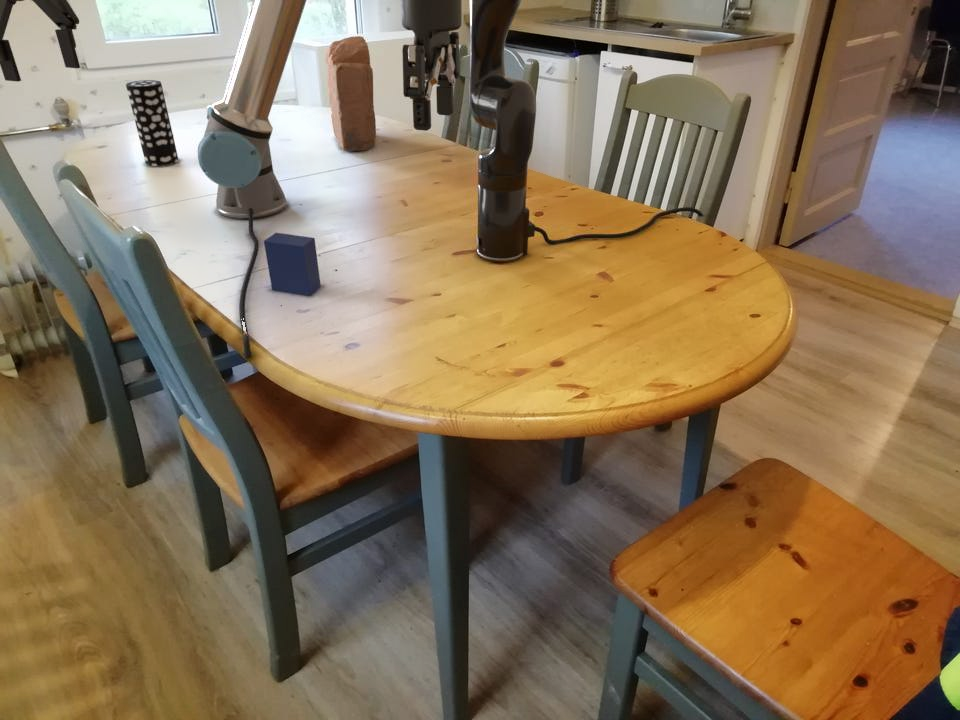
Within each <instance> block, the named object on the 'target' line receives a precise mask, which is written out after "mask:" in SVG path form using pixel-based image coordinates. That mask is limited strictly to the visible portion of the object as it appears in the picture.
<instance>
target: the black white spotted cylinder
mask: <svg viewBox="0 0 960 720" xmlns="http://www.w3.org/2000/svg"><path fill="white" fill-rule="evenodd" d="M125 87H126V91H127V95H128V99H129V103H130V107H131V110H132V115H133V118H134V122H135V123H134V124H135V127H136V130H137V134H138V139H139V143H140V146H141V150H142V155H143V158H144V163H145V164H146V165H147V166H151V167H164V166H170V165H174V164H176V163H178V162H179V155H178V150H177V146H176V142H175V137H174V133H173V128H172V125H171V121H170V116H169V111H168V107H167V103H166V98H165V93H164V89H163V84H162V81H161V80H155V79H154V80H153V79H151V80H150V79H145V80H144V79H141V80H134V81H130V82H129V81H128V82H127V83H126V84H125Z"/></svg>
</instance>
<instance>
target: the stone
mask: <svg viewBox="0 0 960 720" xmlns="http://www.w3.org/2000/svg"><path fill="white" fill-rule="evenodd" d="M325 61H326V65H327V89H328V90H327V91H328V98H329V105H330V110H331V115H330V118H331V124H332V130H333V134H334V137H335V139H336V141H337V143H338V146H339V147H340V149H342V150H343V152H357V151H366V150H368V149H370V148H372V147H374V146H376V144H375V143H376V137H377V124H376V114H375V106H374V70H373V68H372V66H371V57H370V50H369V45H368V43H367V42H366V39H365V38H364V36H361V35H357V36H349V37H345V38H343V39H339V40H335V41H332V42H331V43H330V45H329V47H328V48H327V50H326V54H325Z"/></svg>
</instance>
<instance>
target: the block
mask: <svg viewBox="0 0 960 720" xmlns="http://www.w3.org/2000/svg"><path fill="white" fill-rule="evenodd" d="M263 244H264V245H263V246H264V250H265V251H264V252H265V257H266V262H267V268H268V274H269V279H270V286H271V291H276V292H282V293H288V294H295V295H301V296H306V297H307V296H308V297H311V296H312V295H313V294H314V293H315V292H316V291H317V290H318V289H320V288H321V287H322V285H321V278H320V270H319V262H318V261H319V260H318V254H317V247H316V239H315V237H311V236H304V235H298V234H297V235H295V234H289V233H283V232H274V233H273V234H272V235H270V236H269V237H267V238H266V239H265V240H263Z"/></svg>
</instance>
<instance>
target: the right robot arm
mask: <svg viewBox="0 0 960 720" xmlns="http://www.w3.org/2000/svg"><path fill="white" fill-rule="evenodd" d="M521 2H522V0H468V4H469V28H470V29H469V30H470V31H469V33H470V34H469V35H470V59H469V60H470V62H469V63H470V64H469V65H470V66H469V89H468V90H469V91H468V100H469V108H470V113H471V116H472V118H473V120H474V121H475V123H477V124H478V125H479V126H481V127H483V128H487V129H489V130H492V131H493V130H494V131H495V141H494V146H492V147H488V148H485V149H482V150H481V151H480V152H479V154H478V159H477V160H478V161H477V232H476V234H475V238H476V239H475V240H476V246H477V247H476V254H477V256H478V257H479V258H481V259H483V260H485V261H489V262H492V263H510V262H515V261H518V260H520V259H521V258H523V257H524V256H528V248H529V247H528V246H529V238H534V237H535V233H536V232H537V233H540V234H541V235H542V237H543V240H544V242H545V243H547V244H549V245H559V244H566V243H570V242H575V241H578V240H579V241H580V240H583V239H584V240H585V239H587V240H588V239H620V238H621V239H622V238H627V237H630V236H634V235H636V234H638V233H640V232H642V231H644V230H646V229H648V228H649V227H651V226H652V225H654V223H656V221H657V219H659V218H661V217H664V216H668V215H673V214H677V213H682V212H692V213H694V214H696V215H698V216H699V217H703V216H704V214H703V213H702V211H701V210H699V209H697V208H695V207H691V206H690V207H689V206H685V207H684V206H683V207H677V208H672V209H668V210H665V211H661V212H659V213H656V214H655V215H654V216H653V217H652V218H651V219H650V220H649V221H648V222H647V223H645V224H643V225H641V226H639V227H637V228H635V229H632V230H630V231H625V232H620V233H585V234H578V235H573V236H570V237H566V238H563V239H559V240H554V239H551V238H549V236H548V233H547V232H546V231H545V229H543V228H541V227H539V226H536V224H535V223H533V222H532V221H531V220H530V209H529V208H528V207H527V206H526V203H527V185H528V183H527V182H528V164H529V160H530V157H531V154H532V153H533V147H534V136H535V127H536V126H535V125H536V117H537V98H536V94H535V93H536V92H535V90H534V87H533V86H532V85H531V84H530V83H529V82H527V81H526V80H523V79H519V78H514V77H511V76H506V70H505V69H506V68H505V49H506V47H505V46H506V39H507V37H508V33H509V30H510V28H511V26H512V24H513V21H514V19H515V17H516V16H517V13H518V10H519V8H520V5H521ZM400 13H401V14H400V15H401V26H402V27H403V28H404V29H405V30H407V31H411V32H413V34H414V36H413V44H403V45H402V49H401V50H402V52H401V54H402V83H403V84H402V89H403V90H402V91H403V92H402V93H403V97H405V98H409V99H410V100H412V121H413V122H412V123H413V128H414V130H416V131H425V132H426V131H427V132H428V131H429V130H431V128H432V105H431V104H432V103H431V101H432V100H431V95H432V90H433V87H434V86H435V85H437V86H436V89H435V90H436V91H435V93H436V113H437V114H438V115H439V116H448V117H450V116H451V115H453V114H454V87H455V86H456V79H457V80H458V79H460V76H461V73H460V72H461V71H460V68H461V67H460V35H459V32H458V31H457V30H459V29H461V27H462V21H463V20H462V0H400Z"/></svg>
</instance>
